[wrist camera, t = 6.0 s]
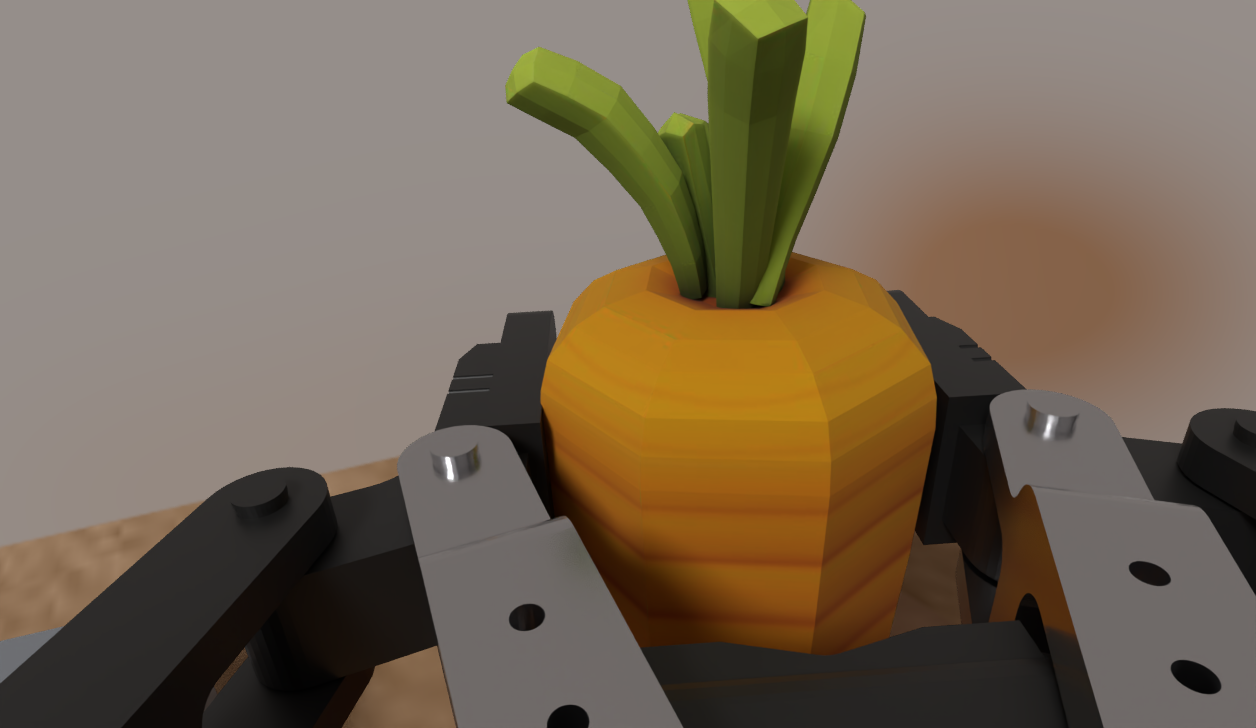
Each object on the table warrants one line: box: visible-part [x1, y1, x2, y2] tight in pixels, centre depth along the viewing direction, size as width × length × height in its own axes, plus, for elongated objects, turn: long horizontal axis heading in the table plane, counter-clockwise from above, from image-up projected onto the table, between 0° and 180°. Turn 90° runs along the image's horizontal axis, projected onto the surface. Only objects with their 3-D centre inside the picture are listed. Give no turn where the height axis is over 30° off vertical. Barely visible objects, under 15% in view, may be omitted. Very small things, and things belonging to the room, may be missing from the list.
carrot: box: [505, 0, 937, 655], centre depth 11 cm, size 5×5×15 cm
